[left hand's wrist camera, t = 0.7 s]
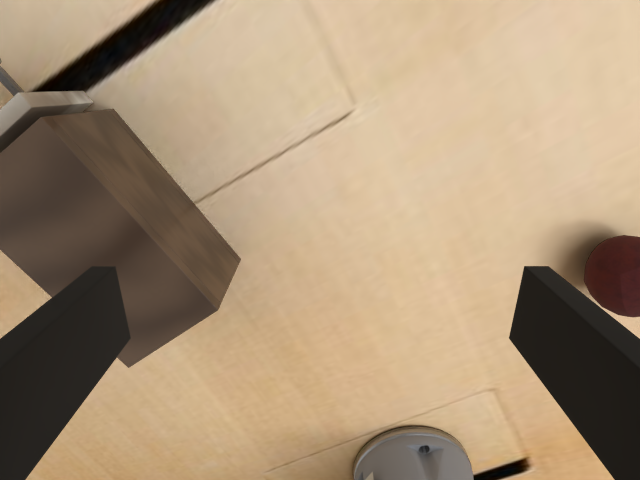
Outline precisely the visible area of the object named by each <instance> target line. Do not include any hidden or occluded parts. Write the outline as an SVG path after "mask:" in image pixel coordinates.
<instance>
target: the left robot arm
mask: <svg viewBox="0 0 640 480" xmlns="http://www.w3.org/2000/svg"><path fill="white" fill-rule="evenodd" d="M130 339H131V336H130V332H129V327H128V322H127V318H126V313H125V308H124V304H123V299H122V294H121V290H120V285H119V280H118V276H117V271H116V266H91V267H90V268H89V269H88V270H86V271H85V272H84V273H83V274H81V275H80V276H79V277H78V278H76V279H75V280H74V281H73V282H71V283H70V284H69V285H68V286H66V287H65V288H64V289H63V290H61V291H60V292H59V293H57V294H56V295H55V296H54V297H52V298H51V299H50V300H49V301H47V302H46V303H45V304H44V305H42V306H41V307H40V308H39V309H37V310H36V311H35V312H34V313H32V314H31V315H30V316H29V317H27V318H26V319H25V320H24V321H22V322H21V323H20V324H18V325H17V326H16V327H15V328H13V329H12V330H11V331H10V332H8V333H7V334H6V335H5V336H3V337H2V338H1V339H0V480H25V479H26V478H27V477H28V475H29V474H30V473H31V471H32V470H33V469H34V467H35V466H36V465H37V463H38V462H39V461H40V459H41V458H42V457H43V455H44V454H45V453H46V451H47V450H48V449H49V447H50V446H51V445H52V443H53V442H54V441H55V439H56V438H57V436H58V435H59V434H60V432H61V431H62V430H63V428H64V427H65V426H66V424H67V423H68V422H69V420H70V419H71V418H72V416H73V415H74V414H75V412H76V411H77V410H78V408H79V407H80V406H81V404H82V403H83V402H84V400H85V399H86V398H87V396H88V395H89V394H90V392H91V391H92V390H93V388H94V387H95V386H96V384H97V383H98V382H99V380H100V379H101V378H102V376H103V375H104V374H105V372H106V371H107V370H108V368H109V367H110V366H111V364H112V363H113V361H114V360H115V359H116V357H117V356H118V355H119V353H120V352H121V351H122V349H123V348H124V347H125V345H126V344H127V343H128V341H129V340H130ZM509 339H510V340H511V341H512V343H513V344H514V345H515V347H516V348H517V349H518V351H519V352H520V353H521V355H522V356H523V357H524V359H525V360H526V361H527V363H528V364H529V366H530V367H531V368H532V370H533V371H534V372H535V374H536V375H537V376H538V378H539V379H540V380H541V382H542V383H543V384H544V386H545V387H546V388H547V390H548V391H549V392H550V394H551V395H552V396H553V398H554V399H555V400H556V402H557V403H558V404H559V406H560V407H561V408H562V410H563V411H564V412H565V414H566V415H567V416H568V418H569V419H570V420H571V422H572V423H573V424H574V426H575V427H576V428H577V430H578V431H579V432H580V434H581V435H582V436H583V438H584V439H585V441H586V442H587V443H588V445H589V446H590V447H591V449H592V450H593V451H594V453H595V454H596V455H597V457H598V458H599V459H600V461H601V462H602V463H603V465H604V466H605V467H606V469H607V470H608V471H609V473H610V474H611V475H612V477H613V478H614V479H615V480H640V339H639V338H638V337H637V336H635V335H634V334H633V333H632V332H630V331H629V330H628V329H627V328H625V327H624V326H623V325H622V324H620V323H619V322H618V321H616V320H615V319H614V318H613V317H611V316H610V315H609V314H608V313H606V312H605V311H604V310H603V309H601V308H600V307H599V306H598V305H596V304H595V303H594V302H593V301H591V300H590V299H589V298H588V297H586V296H585V295H584V294H583V293H581V292H580V291H579V290H577V289H576V288H575V287H574V286H572V285H571V284H570V283H569V282H567V281H566V280H565V279H564V278H562V277H561V276H560V275H559V274H557V273H556V272H555V271H554V270H552V269H551V268H550V267H549V266H524V271H523V276H522V280H521V285H520V290H519V294H518V299H517V304H516V308H515V313H514V318H513V322H512V327H511V332H510V336H509Z"/></svg>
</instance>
